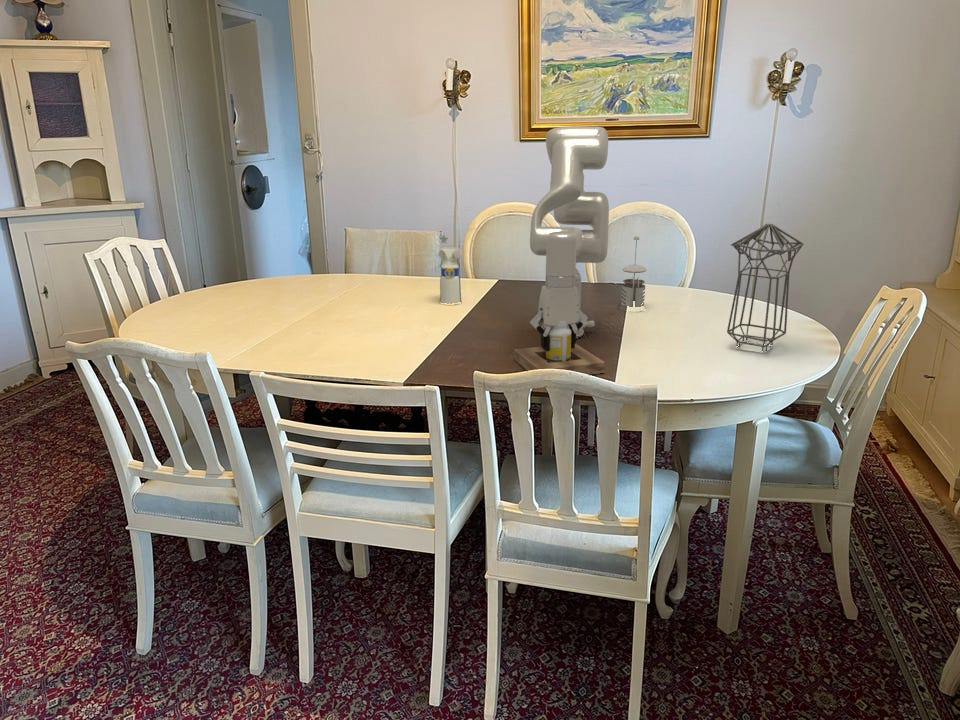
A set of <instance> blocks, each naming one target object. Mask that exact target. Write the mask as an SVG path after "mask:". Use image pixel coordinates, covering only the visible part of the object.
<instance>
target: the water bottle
mask: <svg viewBox="0 0 960 720" xmlns="http://www.w3.org/2000/svg"><path fill="white" fill-rule="evenodd" d="M439 239H440V240H441V241H440V244H443V243H444V244H447V240H448V239H449V238H448V237H446V236H445V234H443V235H442V236H441V237H439ZM463 253H464V252H463V251H462V248H460V247H453V246H450V247H449V246H447V247H442V248H440V249H439V251H438V254H437V255H438V257H439V258H440V259H441V264H440V265H439V267H440V271H441V273H440V274H441V275H440V279H439V281H440V283H439V289H440V291H439V293H440V295H439V303H440V302H441V303H447V304H449V303H450V304H452V303H458V302H461V303H462V292H461V289H462V288H461V287H462V286H461V277H460V266H461V265H460V263H459V259H460V258H461V257H462V256H463Z"/></svg>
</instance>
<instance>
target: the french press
mask: <svg viewBox="0 0 960 720" xmlns="http://www.w3.org/2000/svg"><path fill="white" fill-rule="evenodd" d="M633 240H635V248H637V243H638V242H637V241H638V240H640V236H638V235H635V236H634V237H633ZM634 254H635V255H634V256H635V257H634V263H633V264H630V265H626V266H625V267H623V268H622V269H621V270H622V271H623V272H625V273H629V274H633V276H632V278H626V279H624V280H622V281H623V284H622V285H621V299H620V301H621V302H620V305H621V304H622V305H625V304H624V302H625V303H626V305H625V306H629V307H633V301H635V307H641V306H644V307H645V296H646V294H645V293H646V291H645V290H646V285H645V284H644V283H645V280H644V279H640V278H639V277H640V276H639V275H637V278H635V277H636V276H635V275H636V274H642V273H646V272H647V268H645V266H642V265H639V264H637V261H636V258H637V250H635V253H634ZM642 303H643V304H642ZM641 304H642V305H641Z"/></svg>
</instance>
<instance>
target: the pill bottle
mask: <svg viewBox="0 0 960 720" xmlns="http://www.w3.org/2000/svg"><path fill="white" fill-rule="evenodd" d="M567 325H568V324H567V323H566V321H559V323H558V325H556V326H551V329H550V331H549V333H548V336H549V337H550V344H549V351H546V360H547V361H548V363H554V362H563V361H570V359H571V329H570V328H569V327H567Z"/></svg>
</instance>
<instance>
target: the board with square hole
mask: <svg viewBox="0 0 960 720" xmlns="http://www.w3.org/2000/svg"><path fill="white" fill-rule="evenodd" d="M514 359H515V360H516V361H517V362H519V363H520V364H521V365H522V366H523V367H524V368H526V370H532V369H543V368H558V369H567V370H573V371H578V372H583V373H587V374H589V373H588V372H595V371H601V370H605V367H606V362H605V361H604V360H602V359H600V358H599V357H598V356H596V355H595V354H593V353H591V352H589V351H588V350H586V349H585V348H583V347H581V346H580V345H579V344H577V343H576V344H575V348H571V361H563V362H554V363H549V362H547V361H545V360H546V351H545V350H544V349H543V348H542V347H541V346H534V347H533V346H532V347H523V348H517V349H516V348H514V349H513V360H514ZM516 361H515V362H516ZM517 362H516V363H517ZM522 366H521V367H522ZM523 367H522V368H523ZM524 368H523V369H524ZM526 370H525V371H526Z"/></svg>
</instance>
